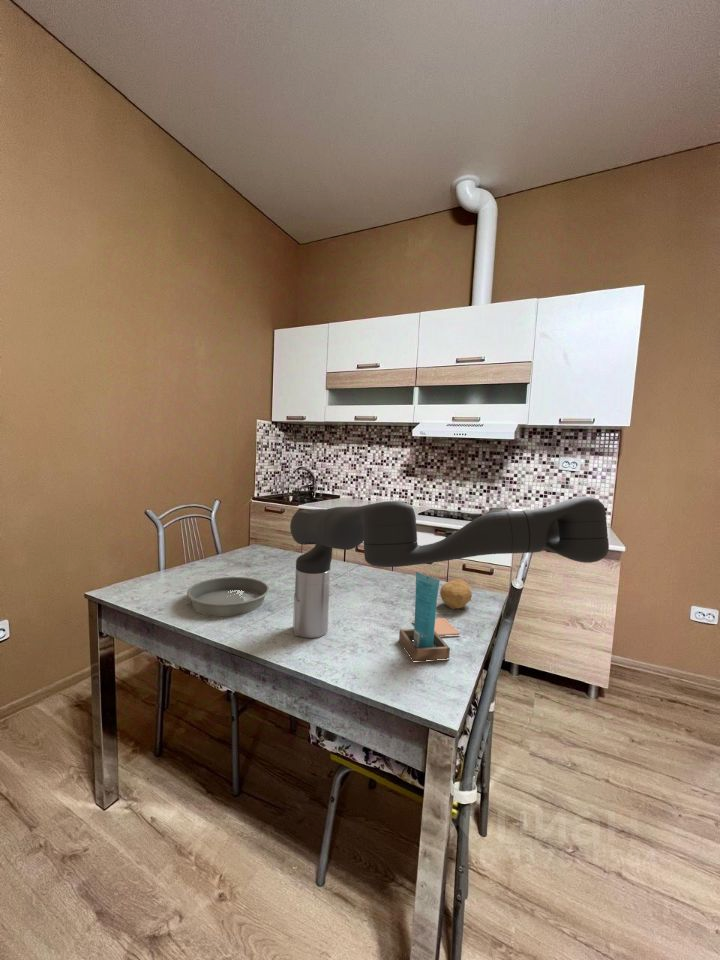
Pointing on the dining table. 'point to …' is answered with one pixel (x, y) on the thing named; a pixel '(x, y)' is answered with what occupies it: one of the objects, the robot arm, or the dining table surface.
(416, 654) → the wooden tray
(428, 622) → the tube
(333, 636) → the dining table surface
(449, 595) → the potato
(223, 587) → the cake pan
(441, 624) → the coaster
